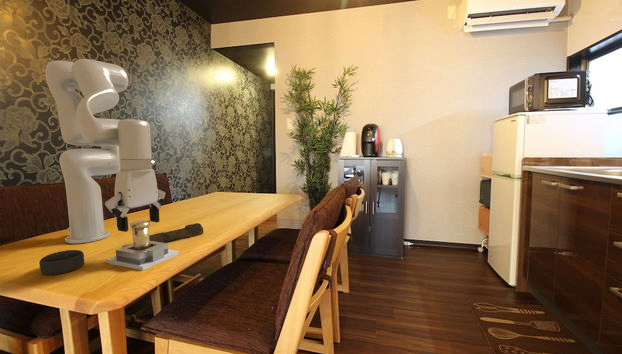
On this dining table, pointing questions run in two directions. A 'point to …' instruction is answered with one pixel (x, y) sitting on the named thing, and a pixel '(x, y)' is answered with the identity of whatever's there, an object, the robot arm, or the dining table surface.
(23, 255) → the dining table surface
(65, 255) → the smart speaker
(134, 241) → the brass pin
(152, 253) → the grey holder fixture
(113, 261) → the board
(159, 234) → the hand tool
